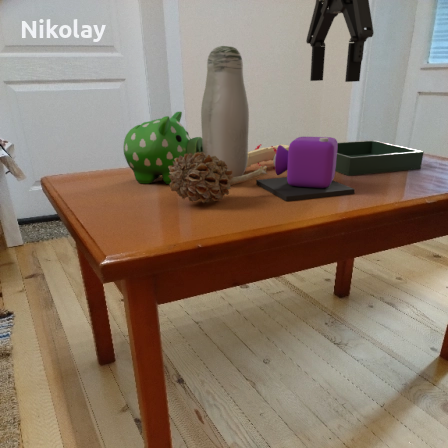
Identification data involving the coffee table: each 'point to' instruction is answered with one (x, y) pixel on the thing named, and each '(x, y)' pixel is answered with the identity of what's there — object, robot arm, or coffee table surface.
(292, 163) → the toy camera
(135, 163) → the piggy bank
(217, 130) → the grey bottle
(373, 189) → the coffee table surface
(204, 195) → the pine cone
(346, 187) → the mat
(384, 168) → the bin
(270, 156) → the beige long piece
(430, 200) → the coffee table surface
